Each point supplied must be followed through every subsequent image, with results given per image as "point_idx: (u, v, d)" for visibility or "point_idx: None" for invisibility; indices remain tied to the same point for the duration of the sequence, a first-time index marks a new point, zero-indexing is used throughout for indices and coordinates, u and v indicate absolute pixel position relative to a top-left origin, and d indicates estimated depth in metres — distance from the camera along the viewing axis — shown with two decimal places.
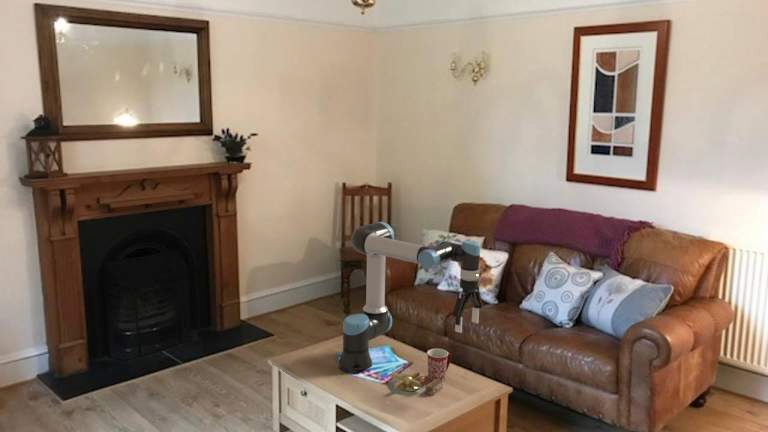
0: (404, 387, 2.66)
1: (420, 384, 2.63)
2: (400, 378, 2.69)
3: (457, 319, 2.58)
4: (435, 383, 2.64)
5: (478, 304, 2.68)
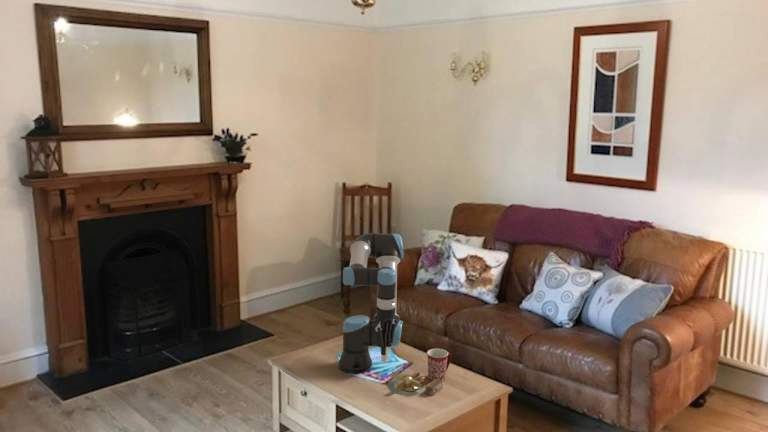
0: (404, 387, 2.66)
1: (420, 384, 2.63)
2: (400, 378, 2.69)
3: (382, 349, 2.61)
4: (435, 383, 2.64)
5: (389, 341, 2.62)
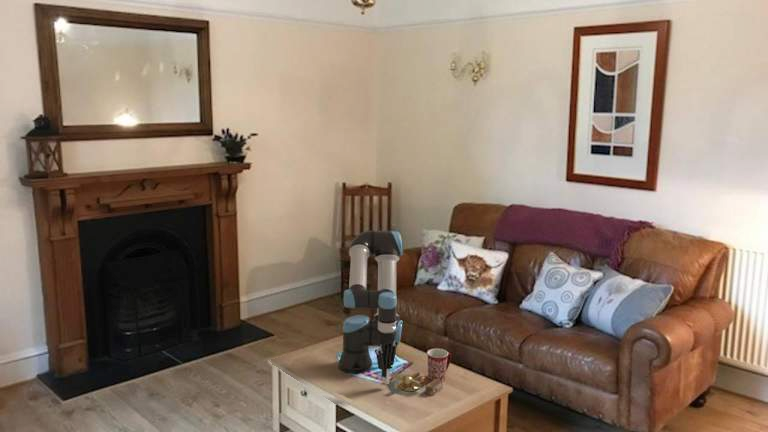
0: (404, 387, 2.66)
1: (420, 384, 2.63)
2: (400, 378, 2.69)
3: (383, 371, 2.64)
4: (435, 383, 2.64)
5: (390, 363, 2.65)
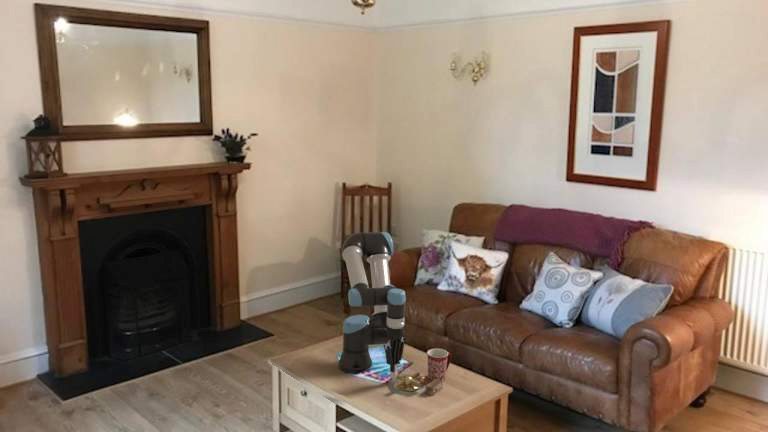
0: (404, 387, 2.66)
1: (420, 384, 2.63)
2: (400, 378, 2.69)
3: (391, 366, 2.68)
4: (435, 383, 2.64)
5: (398, 358, 2.70)
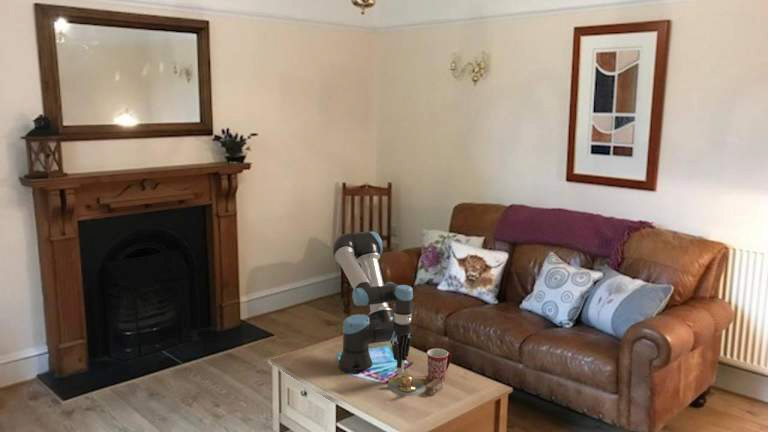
0: (400, 385, 2.68)
1: (407, 386, 2.61)
2: None
3: (398, 362, 2.72)
4: (435, 383, 2.64)
5: (405, 354, 2.73)
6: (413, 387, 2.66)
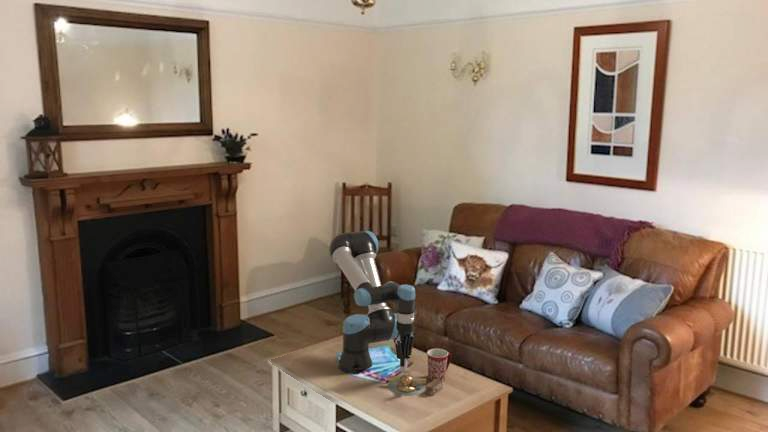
0: (399, 384, 2.68)
1: None
2: None
3: (401, 361, 2.74)
4: (435, 383, 2.64)
5: (408, 353, 2.75)
6: (412, 388, 2.66)
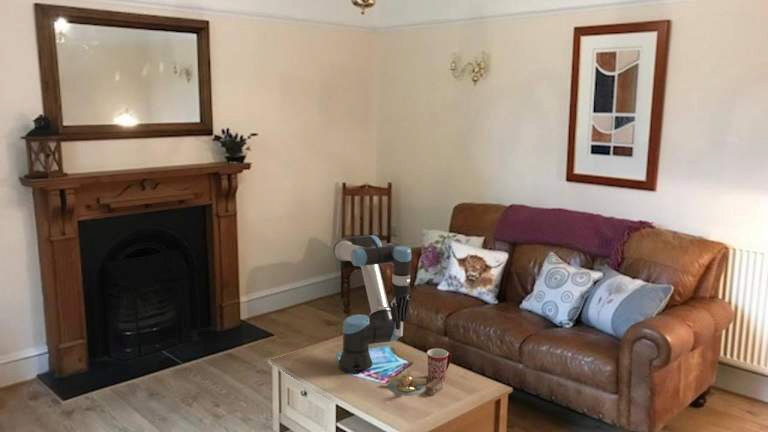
0: (399, 384, 2.68)
1: (403, 386, 2.61)
2: None
3: (397, 324, 2.70)
4: (435, 383, 2.64)
5: (403, 316, 2.71)
6: (411, 388, 2.66)
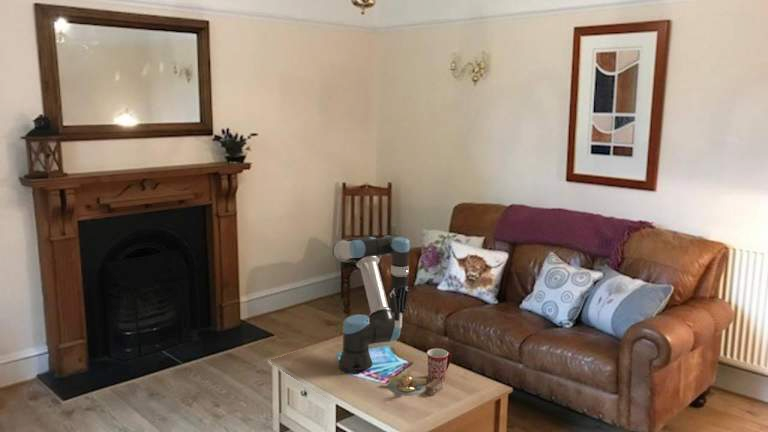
0: (399, 384, 2.68)
1: (403, 386, 2.61)
2: None
3: (396, 315, 2.71)
4: (435, 383, 2.64)
5: (402, 307, 2.72)
6: (411, 388, 2.66)
